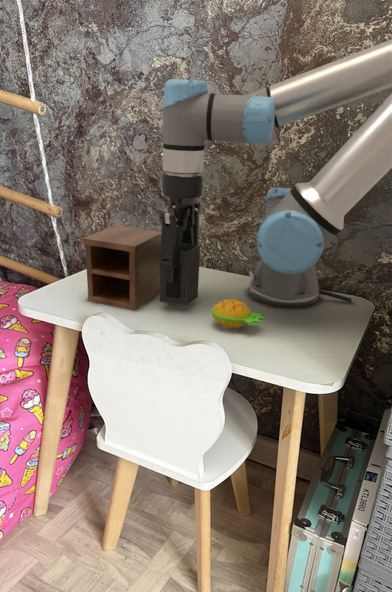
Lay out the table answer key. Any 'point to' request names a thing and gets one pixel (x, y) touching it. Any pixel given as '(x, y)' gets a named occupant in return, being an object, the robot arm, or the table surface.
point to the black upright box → (183, 276)
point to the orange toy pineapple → (234, 314)
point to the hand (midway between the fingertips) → (179, 291)
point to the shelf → (123, 266)
